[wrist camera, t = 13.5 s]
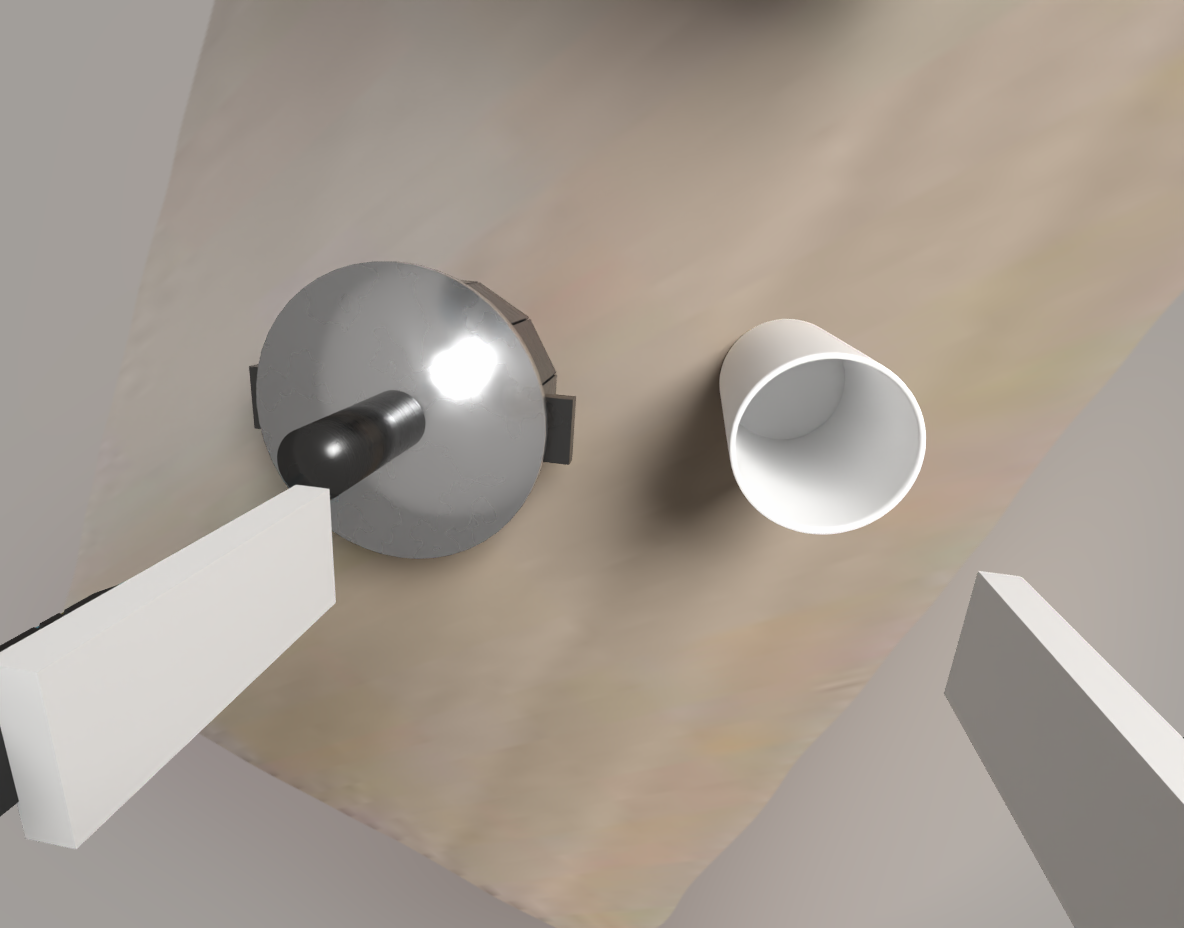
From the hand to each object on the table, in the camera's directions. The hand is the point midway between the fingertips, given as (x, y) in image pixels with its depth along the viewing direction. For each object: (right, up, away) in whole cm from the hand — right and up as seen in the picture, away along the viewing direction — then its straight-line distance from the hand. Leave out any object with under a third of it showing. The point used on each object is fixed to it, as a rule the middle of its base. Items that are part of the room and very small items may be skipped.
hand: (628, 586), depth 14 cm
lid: (-12, +5, +26) cm, 30 cm away
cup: (+12, +8, +30) cm, 34 cm away
